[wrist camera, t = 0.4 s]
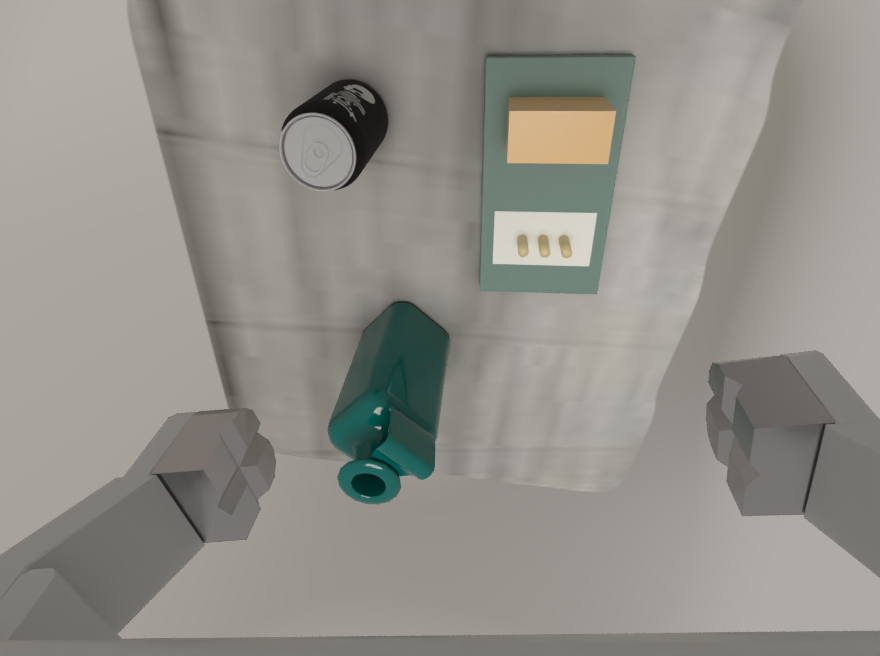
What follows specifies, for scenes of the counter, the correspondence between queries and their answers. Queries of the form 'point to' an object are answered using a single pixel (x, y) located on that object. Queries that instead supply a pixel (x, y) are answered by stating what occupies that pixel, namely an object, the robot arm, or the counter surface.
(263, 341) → the counter surface
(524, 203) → the board
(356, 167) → the beverage can
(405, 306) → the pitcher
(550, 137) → the block
